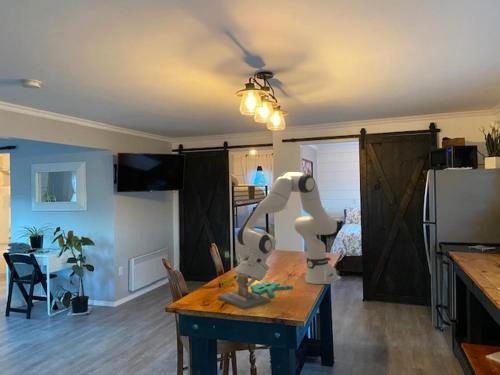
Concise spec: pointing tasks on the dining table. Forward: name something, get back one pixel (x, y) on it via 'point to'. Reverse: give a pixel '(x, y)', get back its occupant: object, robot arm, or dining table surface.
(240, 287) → the grey brown upright block
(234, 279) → the spirit level
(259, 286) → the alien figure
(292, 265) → the dining table surface
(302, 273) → the dining table surface
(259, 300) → the plate
